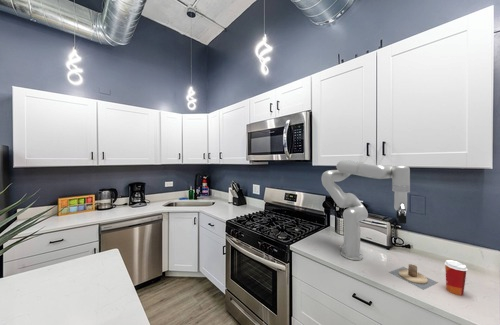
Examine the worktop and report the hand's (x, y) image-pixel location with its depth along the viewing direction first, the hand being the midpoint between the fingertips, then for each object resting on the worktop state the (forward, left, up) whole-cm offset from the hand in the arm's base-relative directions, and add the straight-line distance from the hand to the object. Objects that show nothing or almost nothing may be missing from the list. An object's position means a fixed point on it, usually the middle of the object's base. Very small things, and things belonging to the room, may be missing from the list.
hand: (401, 220), depth 106 cm
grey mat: (+3, +6, -31) cm, 31 cm away
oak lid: (+3, +6, -30) cm, 31 cm away
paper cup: (+18, +11, -31) cm, 37 cm away
